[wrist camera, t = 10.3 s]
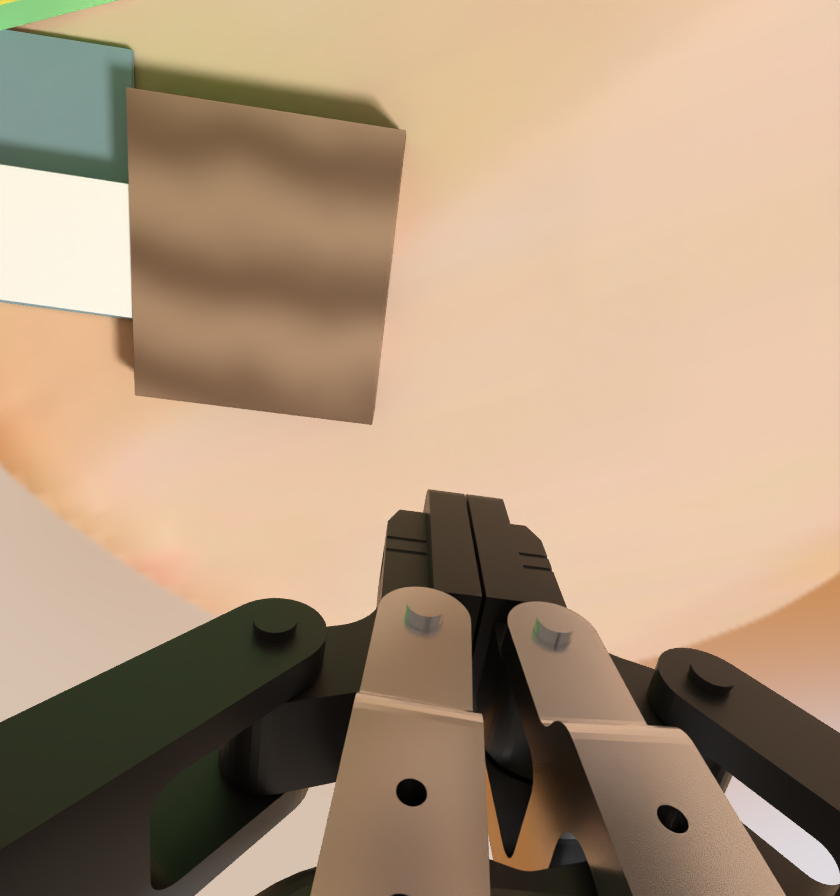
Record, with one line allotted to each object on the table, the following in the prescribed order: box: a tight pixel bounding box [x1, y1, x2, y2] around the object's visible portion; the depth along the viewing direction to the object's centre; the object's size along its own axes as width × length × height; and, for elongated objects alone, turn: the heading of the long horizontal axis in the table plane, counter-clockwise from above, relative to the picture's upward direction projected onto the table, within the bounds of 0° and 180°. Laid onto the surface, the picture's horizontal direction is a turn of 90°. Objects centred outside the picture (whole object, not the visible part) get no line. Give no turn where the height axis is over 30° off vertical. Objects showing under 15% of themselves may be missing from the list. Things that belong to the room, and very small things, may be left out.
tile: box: [0, 164, 133, 318], centre depth 34 cm, size 7×10×2 cm
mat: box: [0, 30, 135, 320], centre depth 34 cm, size 14×11×1 cm
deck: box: [126, 87, 406, 425], centre depth 35 cm, size 16×14×2 cm
